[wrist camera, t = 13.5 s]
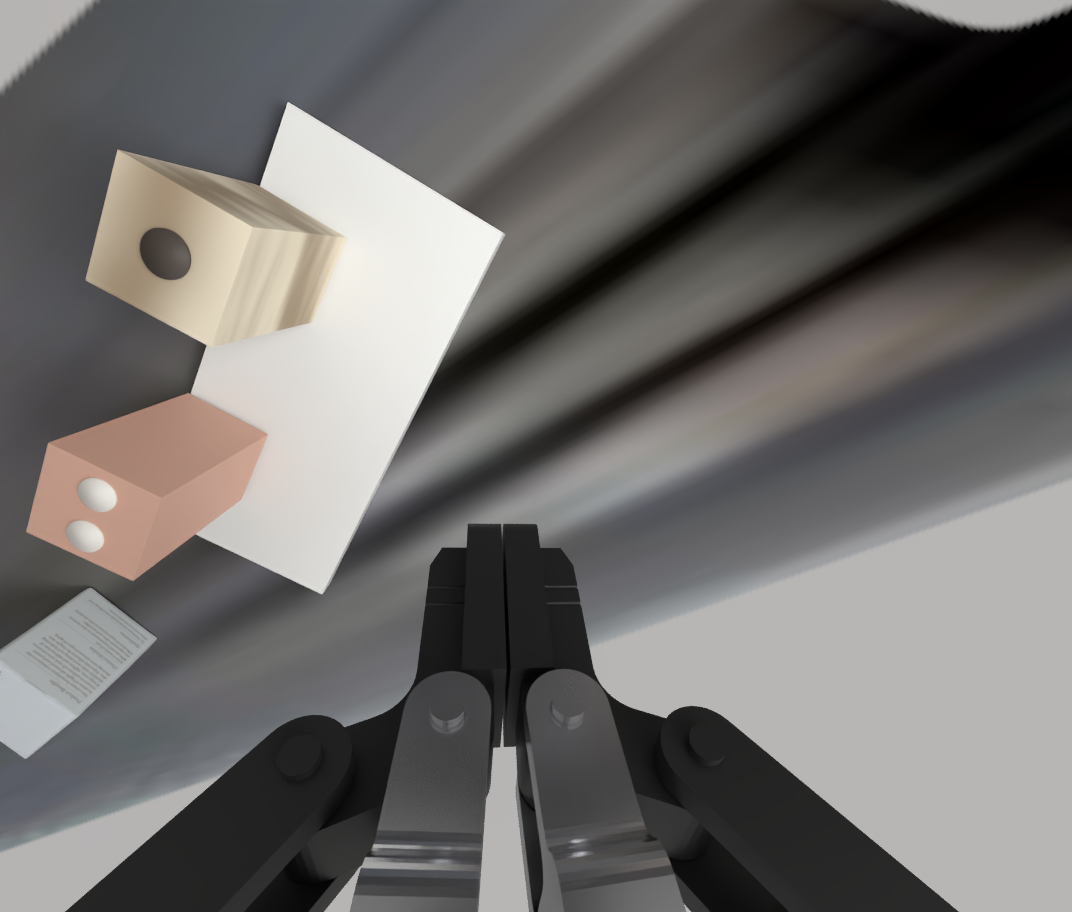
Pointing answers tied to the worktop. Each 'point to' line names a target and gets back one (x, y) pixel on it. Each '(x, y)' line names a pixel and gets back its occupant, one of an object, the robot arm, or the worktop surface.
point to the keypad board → (342, 350)
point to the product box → (64, 668)
